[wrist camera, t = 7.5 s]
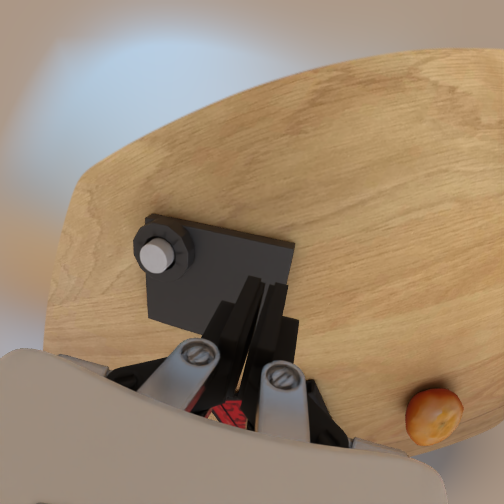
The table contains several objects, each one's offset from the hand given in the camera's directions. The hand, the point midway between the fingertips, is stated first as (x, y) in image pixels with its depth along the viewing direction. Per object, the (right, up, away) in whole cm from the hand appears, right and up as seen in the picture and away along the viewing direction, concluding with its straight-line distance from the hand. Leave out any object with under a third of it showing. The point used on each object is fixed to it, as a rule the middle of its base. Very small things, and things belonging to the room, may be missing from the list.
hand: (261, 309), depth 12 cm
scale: (-4, -1, +17) cm, 18 cm away
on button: (-9, +2, +14) cm, 16 cm away
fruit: (+23, -17, +18) cm, 34 cm away
